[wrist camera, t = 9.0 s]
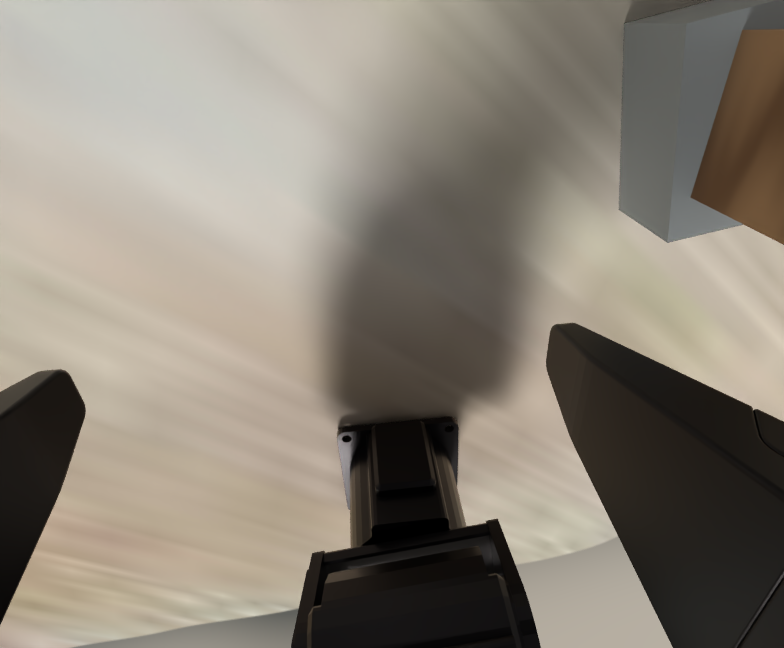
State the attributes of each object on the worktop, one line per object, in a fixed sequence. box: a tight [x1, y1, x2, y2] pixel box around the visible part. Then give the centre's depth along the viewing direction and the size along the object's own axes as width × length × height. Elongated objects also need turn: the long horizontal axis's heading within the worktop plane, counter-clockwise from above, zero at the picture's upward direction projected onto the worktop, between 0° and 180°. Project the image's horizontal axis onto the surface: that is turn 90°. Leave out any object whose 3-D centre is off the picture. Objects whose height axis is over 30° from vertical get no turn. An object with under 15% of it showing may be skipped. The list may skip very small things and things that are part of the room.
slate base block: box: [619, 0, 784, 243], centre depth 17 cm, size 7×7×4 cm
